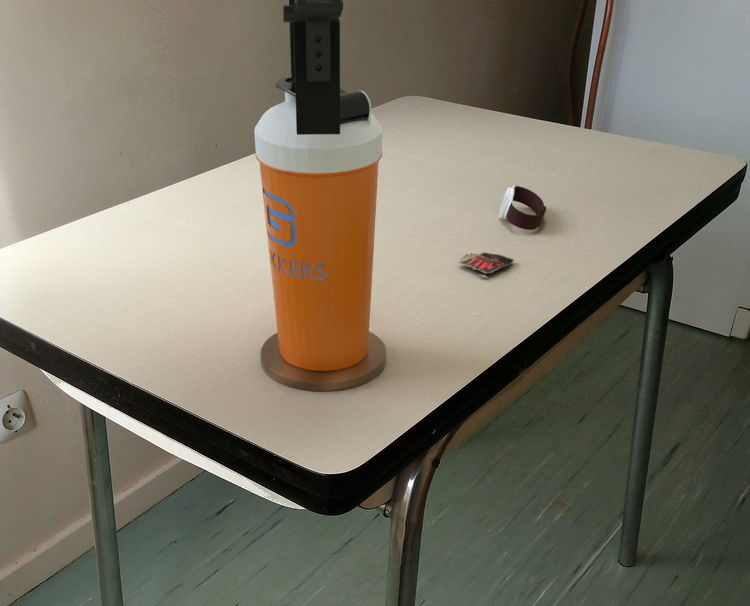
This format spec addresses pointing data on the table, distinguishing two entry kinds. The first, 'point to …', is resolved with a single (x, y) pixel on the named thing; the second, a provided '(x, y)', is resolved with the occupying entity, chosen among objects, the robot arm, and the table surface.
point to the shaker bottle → (320, 229)
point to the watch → (517, 216)
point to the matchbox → (485, 262)
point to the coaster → (323, 379)
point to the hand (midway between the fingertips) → (313, 102)
